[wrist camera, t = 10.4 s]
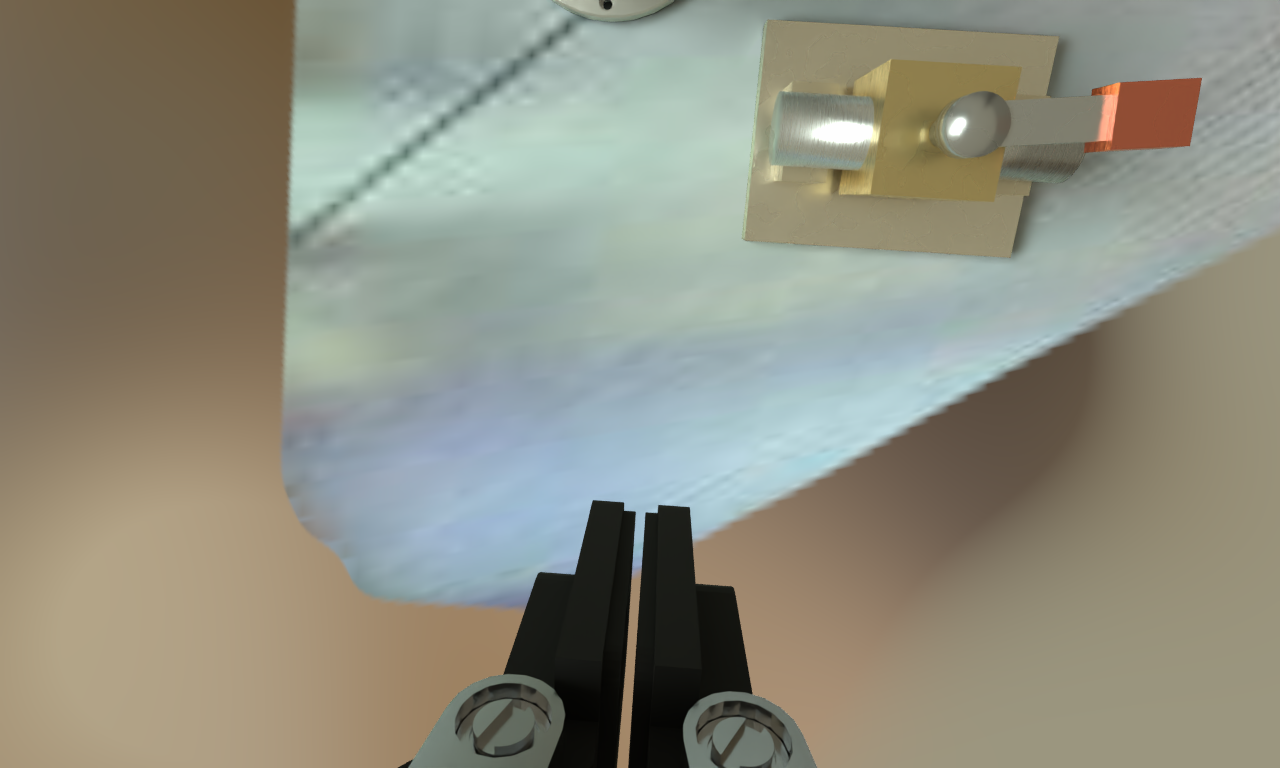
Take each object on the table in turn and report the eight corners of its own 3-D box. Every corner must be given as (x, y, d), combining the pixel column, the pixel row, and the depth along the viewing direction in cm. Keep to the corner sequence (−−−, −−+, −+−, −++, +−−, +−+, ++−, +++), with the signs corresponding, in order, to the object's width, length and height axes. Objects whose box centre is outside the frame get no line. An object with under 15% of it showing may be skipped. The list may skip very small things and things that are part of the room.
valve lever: (930, 160, 29) (946, 158, 27) (935, 98, 28) (952, 92, 27) (1158, 148, 29) (1189, 145, 27) (1168, 85, 28) (1202, 77, 26)
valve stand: (763, 26, 37) (799, -36, 27) (1043, 42, 37) (1185, -15, 27) (741, 238, 41) (766, 253, 31) (998, 255, 40) (1108, 275, 30)
